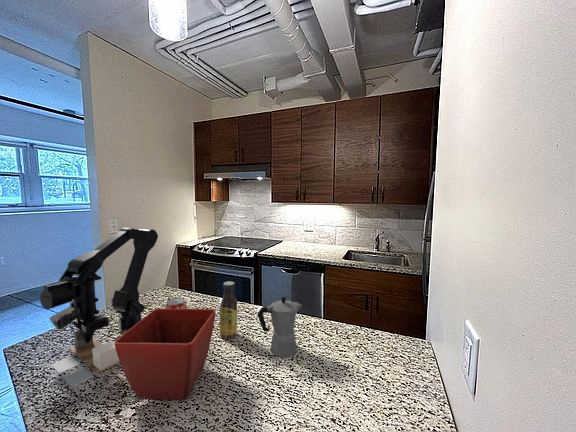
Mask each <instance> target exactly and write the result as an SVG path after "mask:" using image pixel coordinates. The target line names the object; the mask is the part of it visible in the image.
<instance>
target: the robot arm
mask: <svg viewBox="0 0 576 432" xmlns="http://www.w3.org/2000/svg"><path fill="white" fill-rule="evenodd" d="M158 238H159V234H158V232H157V230H155V229H151V228H139V229H137V228H133V227H122V228H120V229H119V230H118V232H116V233H115V234H113V235H112V236H111V237H109V238H108V239H107V240H105V241H104V242H102V243H101V244H99V245H98V246H97V247H95V248H94V249H93V250H90V251H88V252H85V253H81V254H80V255H78V256H76V257H74V258H73V259H71V260H70V261H69V262H68V263H67V268H66V269H65V271H64V272H63V274H62V275H61V277H60V278H59V280H58V282H56V283H53V284H46V285H44V286H43V290H42V291H41V293H40V296H39V302H40V304H41V307H43V309H45V310H47V311H48V310H52V309H54V308H58V307H60V306H62V305H63V306H64V305H65V304H68V303H69V304H70V305H69V306H68V307H66V308H64V309H62V310H60V311H59V312H57V313H56V314H54V315H52V316H50V317H49V321H50V322H51V324H52V325H53V326H54V327H55V328H56V330H62V329H64V328H66V327H67V326H68V325H70V324H71V325H73V326H74V327H75V328H77V329H78V330H80V332H81V334H82V336H83V338H84V341H85V343H89V342H90V341H91V339H92V337H93V338H94V334H95V332H96V331H97V330H100V329H102V328H105V327H108V326H110V319H109V318H108V317H107V316H104V315H102V314H100V310H99V309H98V308H97V302H99V298H98V297H97V296H96V282H95V281H100V280H101V279H102V278H103V277H102V276H100V275H98V274H97V272H98V271H99V270H100V269H101V268H102V266H103V264H104V262H105V260H106V259H108V258H109V257H110V256H111V255H112V254H114V253H115V252H116V251H118V250H119V249H121V248H122V246H124V245H125V244H127V243H128V242H129V241H130V240H132V241H133V242H132V243H133V248H134V251H133V254H132V257H131V260H130V263H129V267H128V270H127V272H126V275H125V279H124V283H123V285H122V286H121V288H120V289H119V290H117V289H116V290H115V291H114V294H113V297H112V299H111V300H110V301H111V302H112V303H111V307H112V308H113V309H114V310H115V311H116V313H117V314H119V315H120V317H119V318H118V325H119V327H118V328H119V329H120V330H121V331H123V330H129V329H131V328H132V327H133V326H134V325H136V324H137V323H138V322H140V321H141V320H142V313H144V312H145V309H146V305H145V304H143V303H141V302H140V301H139V300H140V294H139V293H140V292H139V289H138V288H139V284H140V281H141V279H142V278H141V277H142V275H143V271H144V268H145V265H146V262H147V258H148V255H149V252H150V251H151V250H152V249H153V248H154V247H155V245H156V242H157V241H158ZM73 276H74V277H73ZM98 314H99V315H98Z"/></svg>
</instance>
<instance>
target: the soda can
mask: <svg viewBox="0 0 576 432" xmlns="http://www.w3.org/2000/svg"><path fill="white" fill-rule="evenodd" d="M165 303H166V304H165V307H164V309H188V308H187V302H186V299H185V298H183V297H174V298H171V299H169V300H167V301H166V302H165Z"/></svg>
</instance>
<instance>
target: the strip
mask: <svg viewBox="0 0 576 432" xmlns="http://www.w3.org/2000/svg"><path fill="white" fill-rule="evenodd" d="M73 341H74V343H73V344H74V345H73V346H70V347H69V348H68V351H69V352H70V351H71V352H73V354H75V355H76V356H77V357H78V358H80V359H81V361H82V362H83V363H85V364H86V365H87V366H88V367H89V368H90V369H92V371H94V372H95V373H96V374H97V375H98V374H99V373H102V372H103V371H105V370H108V369H110V368H112V367H114V366H116V365H117V364H120V362H118V363H116V364H114V365H112V366H110V367H108V368H105V369H103V370H101V371H100V370H99V369H98V368H97V367H96V366H94V365H93V351H92V348H95V347H97V346H100V345H102V343H101V342H99V340H98V339H96V338H95V337H94V336H93V337H92V339H91V341H90V342H89V343H85V341H84V338H83V336H82V334H81V332H80V329H78V330H77V331H74V332H73Z"/></svg>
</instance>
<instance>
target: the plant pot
mask: <svg viewBox="0 0 576 432" xmlns="http://www.w3.org/2000/svg"><path fill="white" fill-rule="evenodd" d="M215 320H216V309H215V308H187V309H165V308H155V309H153V310H152V311H151V312H149V313H148V314H147V315H146V316H144V317H143V318H141V321H140V322H138V323H137V324H136V325H134V326H133V327H132V328H131V329H127V331H125V333H123V334H122V335H121V336H119V337H118V338H116V340H114V341H113V342H114V344H115V348H116V352H117V355H118V358H119V362H120V363H119V364H120V366H121V369H122V372H123V374H124V377H125V378H126V380H127V382H128V384H129V386H130V388H131V389H132V391H133V392H134V395H135V396H136V397H138V398H142V399H143V400H169V401H170V400H172V401H177V400H178V401H179V400H181V401H182V400H183V401H184V400H185V399H187V398H188V397H189V395H190V394H191V392H192V390H193V388H194V386H195V385H196V382H197V381H198V379H199V377H200V375H201V373H202V371H203V370H204V368H205V364H206V361H207V357H208V354H209V351H210V350H209V349H210V345H211V341H212V338H213V331H214V325H215Z"/></svg>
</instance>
